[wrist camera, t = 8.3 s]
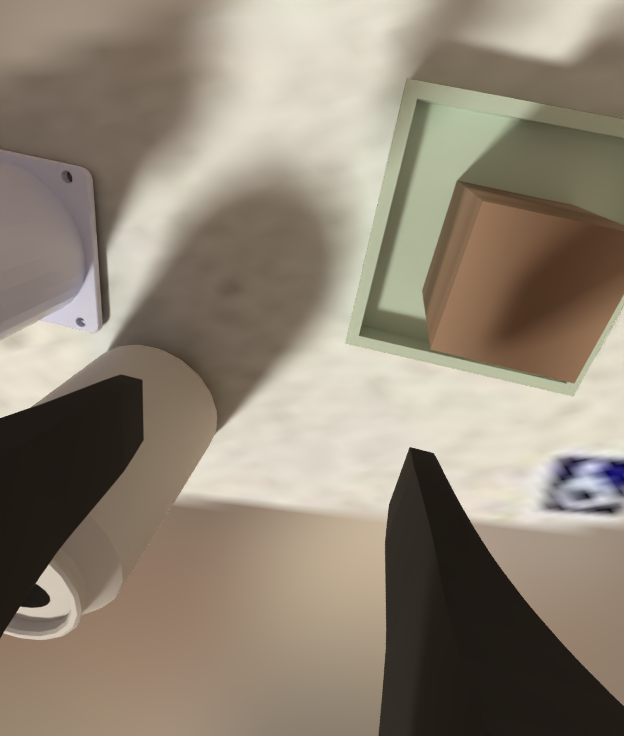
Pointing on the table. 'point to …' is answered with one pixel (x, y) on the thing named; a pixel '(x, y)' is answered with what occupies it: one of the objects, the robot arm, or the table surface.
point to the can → (123, 491)
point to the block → (522, 281)
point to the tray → (481, 167)
